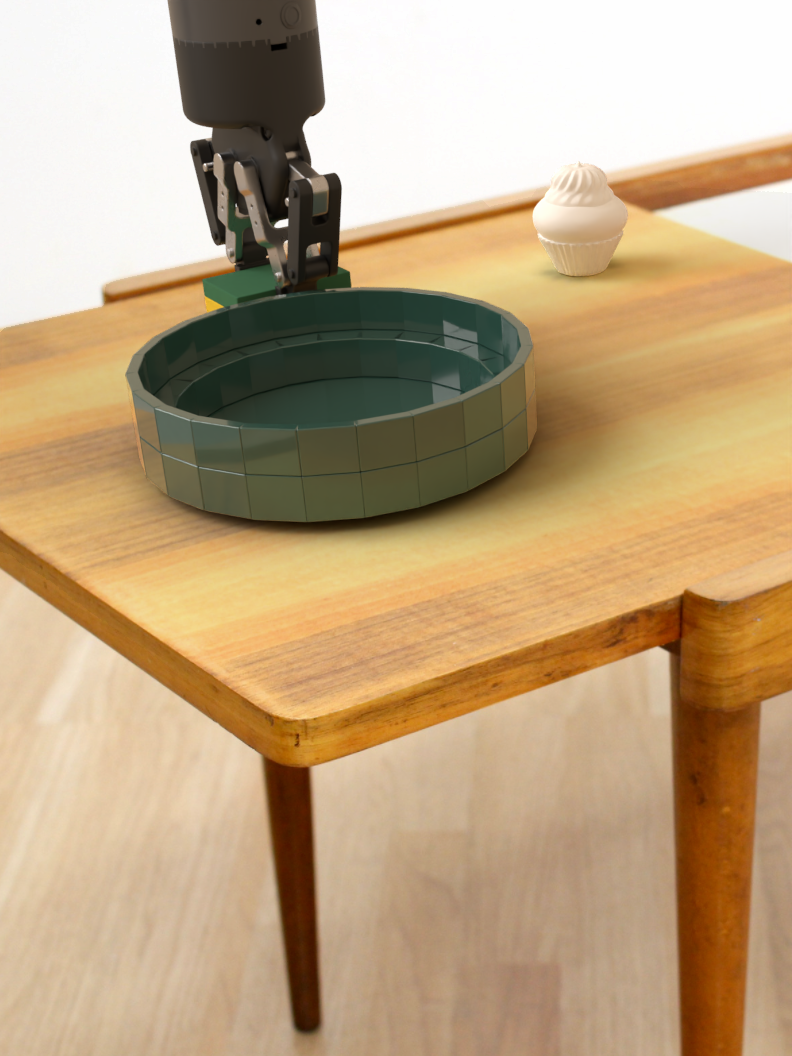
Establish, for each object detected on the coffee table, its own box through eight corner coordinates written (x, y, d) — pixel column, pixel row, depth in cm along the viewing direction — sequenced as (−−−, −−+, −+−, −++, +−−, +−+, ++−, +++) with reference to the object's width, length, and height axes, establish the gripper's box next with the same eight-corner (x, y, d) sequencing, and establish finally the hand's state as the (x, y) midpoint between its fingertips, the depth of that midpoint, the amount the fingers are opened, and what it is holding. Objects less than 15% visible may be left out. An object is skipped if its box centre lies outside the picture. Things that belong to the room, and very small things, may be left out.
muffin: (517, 277, 99) (511, 168, 96) (560, 251, 104) (557, 146, 101) (604, 288, 97) (601, 176, 94) (644, 260, 102) (643, 153, 98)
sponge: (245, 367, 85) (236, 297, 83) (211, 346, 89) (201, 278, 87) (357, 338, 89) (350, 271, 87) (319, 319, 92) (312, 253, 90)
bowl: (251, 576, 65) (235, 467, 62) (84, 437, 79) (66, 343, 76) (614, 454, 74) (613, 356, 72) (408, 349, 88) (400, 264, 86)
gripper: (123, 17, 84) (170, 319, 92) (238, 49, 73) (280, 386, 81) (249, 1, 88) (284, 292, 95) (376, 29, 77) (403, 353, 85)
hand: (282, 334), depth 88 cm, fingers closed on sponge, 4 cm apart
